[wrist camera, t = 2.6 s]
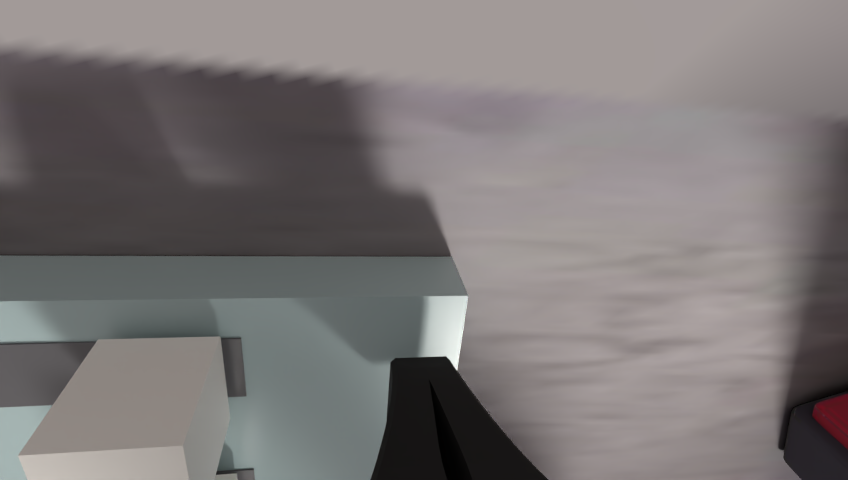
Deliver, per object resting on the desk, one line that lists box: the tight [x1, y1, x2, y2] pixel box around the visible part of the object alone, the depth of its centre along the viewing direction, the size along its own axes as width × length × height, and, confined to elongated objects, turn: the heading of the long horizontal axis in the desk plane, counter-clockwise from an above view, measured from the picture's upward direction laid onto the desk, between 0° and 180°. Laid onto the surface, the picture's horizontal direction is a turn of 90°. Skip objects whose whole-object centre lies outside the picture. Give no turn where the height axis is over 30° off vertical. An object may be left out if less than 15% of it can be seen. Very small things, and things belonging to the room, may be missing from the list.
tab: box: [18, 336, 230, 480], centre depth 10 cm, size 2×2×3 cm
